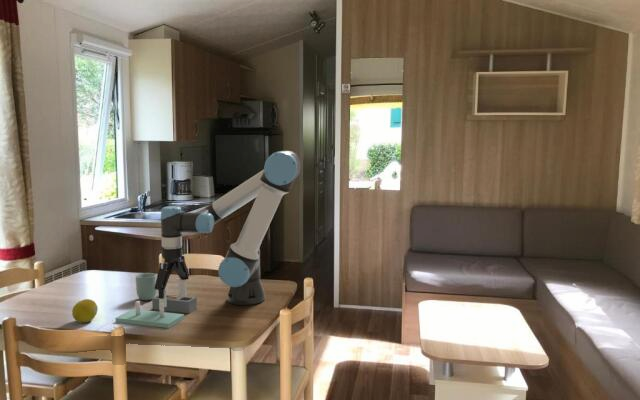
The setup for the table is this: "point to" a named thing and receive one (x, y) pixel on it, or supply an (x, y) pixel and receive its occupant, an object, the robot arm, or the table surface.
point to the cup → (146, 286)
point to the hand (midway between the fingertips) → (173, 300)
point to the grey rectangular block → (177, 303)
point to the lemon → (84, 310)
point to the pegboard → (150, 317)
